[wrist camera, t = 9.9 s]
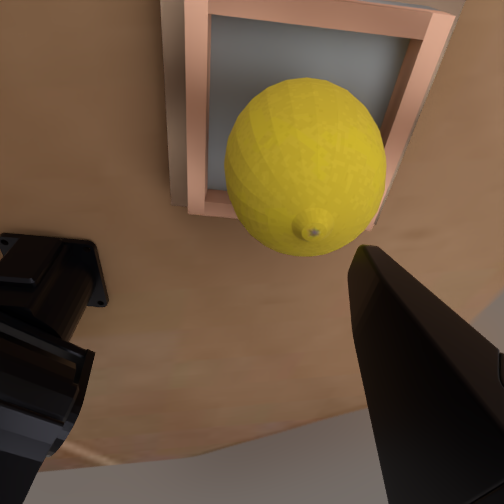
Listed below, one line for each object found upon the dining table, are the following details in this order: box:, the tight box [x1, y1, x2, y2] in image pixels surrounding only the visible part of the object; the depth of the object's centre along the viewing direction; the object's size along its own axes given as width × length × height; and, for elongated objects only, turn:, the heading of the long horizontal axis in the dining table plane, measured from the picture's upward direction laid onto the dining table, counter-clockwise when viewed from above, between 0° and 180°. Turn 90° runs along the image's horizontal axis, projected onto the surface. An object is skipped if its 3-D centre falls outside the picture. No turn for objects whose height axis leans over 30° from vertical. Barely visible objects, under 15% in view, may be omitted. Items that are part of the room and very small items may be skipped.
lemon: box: [224, 77, 387, 256], centre depth 13 cm, size 6×6×8 cm
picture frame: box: [160, 0, 466, 231], centre depth 17 cm, size 12×12×5 cm
